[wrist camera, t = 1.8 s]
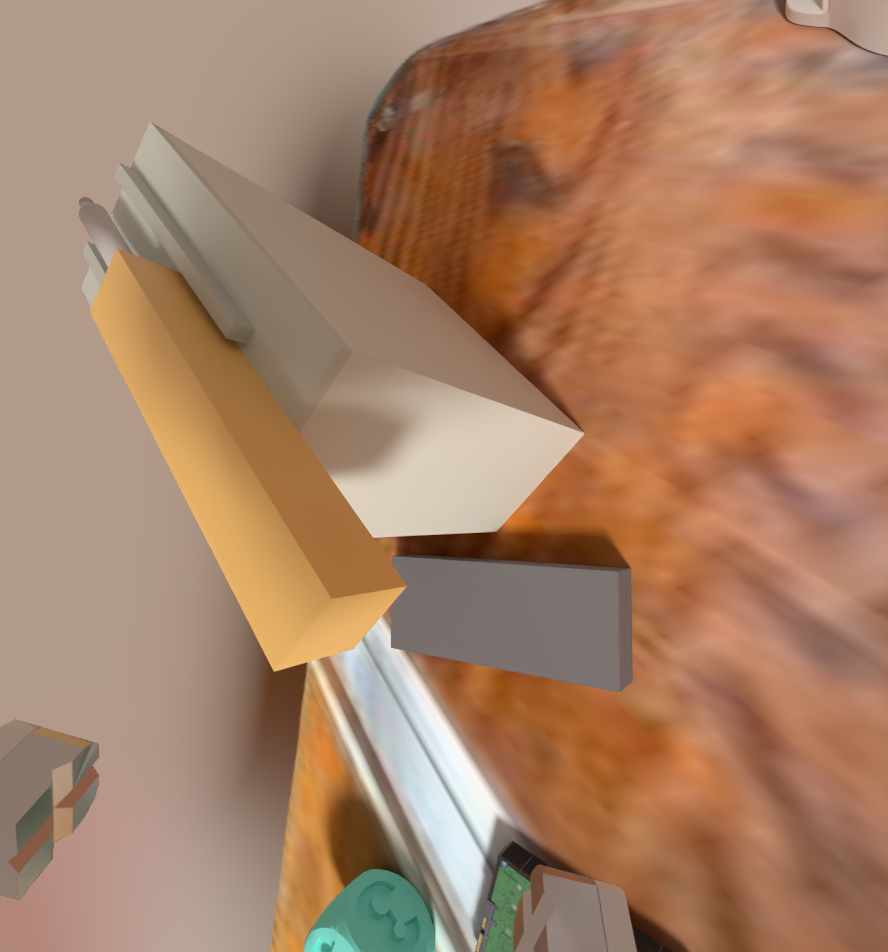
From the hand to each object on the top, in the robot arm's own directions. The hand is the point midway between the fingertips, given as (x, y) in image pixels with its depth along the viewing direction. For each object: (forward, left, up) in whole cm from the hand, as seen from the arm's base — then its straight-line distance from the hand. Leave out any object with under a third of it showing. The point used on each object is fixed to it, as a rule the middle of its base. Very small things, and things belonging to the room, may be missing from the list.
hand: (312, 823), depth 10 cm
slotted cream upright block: (-16, -19, -33) cm, 41 cm away
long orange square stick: (-12, -15, -7) cm, 21 cm away
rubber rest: (+2, -14, -33) cm, 36 cm away
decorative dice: (+31, -25, -34) cm, 52 cm away
